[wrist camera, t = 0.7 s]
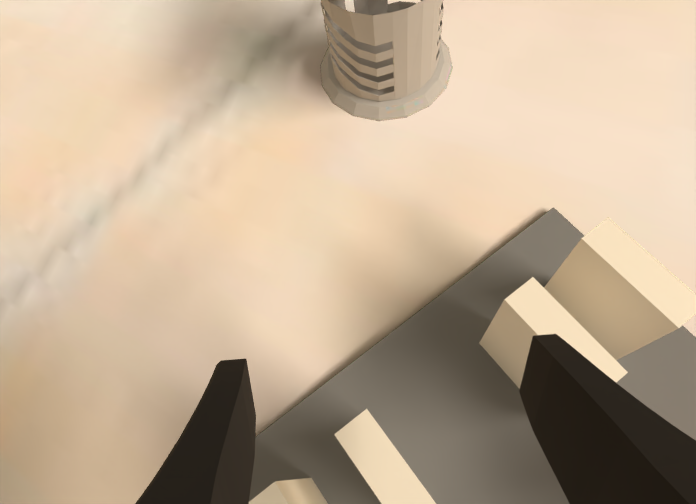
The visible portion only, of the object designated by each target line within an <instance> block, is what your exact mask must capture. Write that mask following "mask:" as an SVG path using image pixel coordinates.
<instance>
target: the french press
mask: <svg viewBox="0 0 696 504" xmlns="http://www.w3.org/2000/svg"><path fill="white" fill-rule="evenodd" d="M321 6H322V11H323V9H324V11H325V14H324V11H323V15H324V22H325V28H326V25H327V27H328V30H327V28H326V32H327V39H328V44H329V40H330V44H329V47H328V49H327V52H326V54H325V56H324V59H323V61H322V63H321V80H322V86H323V88H324V90H325V91H326V93H327V94H328V96H329V97H330V99H331V101H332V102H333V103H334V104H335V105H337V106H338V107H340V108H342V109H343V110H345V111H346V112H348V113H350V114H351V115H353V116H357V117H362V118H367V119H372V120H377V121H382V120H390V119H398V118H406V117H408V116H410V115H412V114H414V113H416V112H418V111H420V110H422V109H424V108H427V107H429V106H430V105H431V104H432V103H433V102H434V101H435V100H436V99H437V98H438V97H439V96H440V94H441V93H442V92H443V91H444V90H445V89H446V87H447V84H448V81H449V78H450V75H451V72H452V68H453V67H452V62H451V57H450V52H449V48H448V47H447V45H446V44H445V43H444V42H443V41H442V39H441V32H442V20H441V19H442V17H443V0H421V2H419V3H417V4H416V3H413V2H401V1H399V2H395V3H391V4H388V2H387V0H354V8H355V13H354V12H349V11H347V10H346V8H345V0H321ZM440 7H441V10H442V11H441V12H440ZM439 24H440V27H439Z"/></svg>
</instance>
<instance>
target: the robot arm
mask: <svg viewBox="0 0 696 504" xmlns="http://www.w3.org/2000/svg"><path fill="white" fill-rule="evenodd" d="M519 393H520V396H521V399H522V402H523V405H524V408H525V411H526V414H527V416H528V419H529V422H530V424H531V427H532V430H533V432H534V434H535V436H536V438H537V440H538V442H539V444H540V446H541V448H542V450H543V452H544V454H545V456H546V458H547V460H548V462H549V464H550V466H551V468H552V470H553V472H554V474H555V476H556V478H557V480H558V482H559V484H560V486H561V488H562V490H563V492H564V494H565V496H566V498H567V500H568V502H569V504H696V440H694V439H693V438H691V437H690V436H688V435H687V434H685V433H684V432H682V431H681V430H679V429H678V428H676V427H675V426H673V425H672V424H671V423H669V422H668V421H666V420H665V419H664V418H662V417H661V416H660V415H658V414H657V413H655V412H654V411H653V410H651V409H650V408H648V407H647V406H646V405H644V404H643V403H642V402H640V401H639V400H638V399H636V398H635V397H634V396H633V395H631V394H630V393H629V392H627V391H626V390H625V389H624V388H622V387H621V386H620V385H618V384H617V383H616V382H615V381H613V380H612V379H611V378H610V377H608V376H607V375H606V374H605V373H604V372H602V371H601V370H600V369H599V368H597V367H596V366H595V365H594V364H593V363H591V362H590V361H589V360H588V359H587V358H585V357H584V356H583V355H582V354H580V353H579V352H578V351H577V350H576V349H574V348H573V347H572V346H571V345H570V344H568V343H567V342H566V341H565V340H563V339H562V338H561V337H560V336H558V335H557V334H547V335H535V336H533V337H532V341H531V345H530V349H529V353H528V357H527V362H526V366H525V370H524V374H523V378H522V382H521V386H520V390H519ZM255 426H256V414H255V408H254V402H253V396H252V390H251V384H250V378H249V372H248V367H247V361H246V359H236V360H224V361H220V362H219V363H218V364H217V365H216V368H215V370H214V373H213V375H212V377H211V379H210V382H209V384H208V386H207V388H206V390H205V392H204V394H203V396H202V398H201V400H200V402H199V404H198V406H197V408H196V410H195V411H194V413H193V415H192V417H191V418H190V420H189V422H188V424H187V426H186V427H185V429H184V431H183V433H182V434H181V436H180V438H179V440H178V441H177V443H176V444H175V446H174V448H173V449H172V451H171V452H170V454H169V455H168V457H167V459H166V460H165V462H164V463H163V465H162V466H161V468H160V470H159V471H158V473H157V474H156V476H155V477H154V478H153V480H152V481H151V483H150V484H149V486H148V487H147V489H146V490H145V491H144V493H143V494H142V496H141V497H140V498H139V500H138V501H137V502H136V504H249V497H250V489H251V481H252V474H253V466H254V458H255Z"/></svg>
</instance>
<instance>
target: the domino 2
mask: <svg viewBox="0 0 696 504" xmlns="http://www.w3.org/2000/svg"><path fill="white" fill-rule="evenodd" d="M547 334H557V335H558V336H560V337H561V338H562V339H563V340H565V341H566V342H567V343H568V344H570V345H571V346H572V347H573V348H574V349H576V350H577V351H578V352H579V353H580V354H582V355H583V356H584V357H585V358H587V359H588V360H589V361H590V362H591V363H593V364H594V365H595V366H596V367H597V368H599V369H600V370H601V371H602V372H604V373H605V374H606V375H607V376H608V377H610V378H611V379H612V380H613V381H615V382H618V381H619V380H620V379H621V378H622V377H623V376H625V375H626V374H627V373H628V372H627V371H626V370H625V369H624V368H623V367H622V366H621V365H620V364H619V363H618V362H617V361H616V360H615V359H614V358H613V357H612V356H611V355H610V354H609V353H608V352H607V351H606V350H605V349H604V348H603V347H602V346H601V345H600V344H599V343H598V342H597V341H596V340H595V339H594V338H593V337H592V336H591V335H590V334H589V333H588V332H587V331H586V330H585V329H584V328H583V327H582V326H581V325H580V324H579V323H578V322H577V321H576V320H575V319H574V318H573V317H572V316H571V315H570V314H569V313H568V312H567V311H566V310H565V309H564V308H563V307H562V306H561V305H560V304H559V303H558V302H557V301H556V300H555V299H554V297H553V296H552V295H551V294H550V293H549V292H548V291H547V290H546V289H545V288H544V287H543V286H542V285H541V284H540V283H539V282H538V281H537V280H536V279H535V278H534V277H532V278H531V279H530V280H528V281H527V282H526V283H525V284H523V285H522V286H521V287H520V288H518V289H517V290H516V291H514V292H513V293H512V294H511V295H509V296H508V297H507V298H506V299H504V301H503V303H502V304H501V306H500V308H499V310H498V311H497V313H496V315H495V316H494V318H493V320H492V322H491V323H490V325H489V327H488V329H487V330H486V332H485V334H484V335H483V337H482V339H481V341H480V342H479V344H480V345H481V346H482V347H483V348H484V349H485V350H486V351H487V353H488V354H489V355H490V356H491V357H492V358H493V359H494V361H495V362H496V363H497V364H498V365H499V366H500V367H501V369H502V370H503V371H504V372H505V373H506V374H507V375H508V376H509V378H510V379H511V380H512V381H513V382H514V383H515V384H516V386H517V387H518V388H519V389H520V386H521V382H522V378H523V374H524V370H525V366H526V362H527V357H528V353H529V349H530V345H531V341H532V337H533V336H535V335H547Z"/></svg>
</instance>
